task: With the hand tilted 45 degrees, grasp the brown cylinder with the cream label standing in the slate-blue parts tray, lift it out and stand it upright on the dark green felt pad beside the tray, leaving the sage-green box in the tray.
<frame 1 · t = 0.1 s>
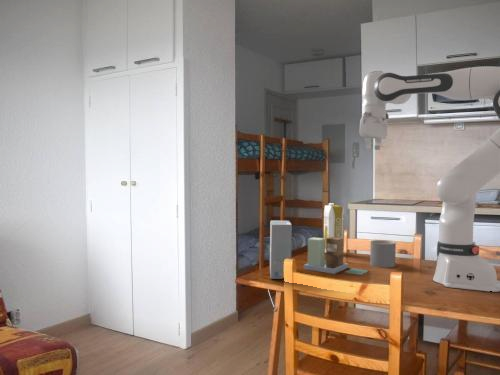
hand: (373, 149, 175), 48 cm above the table, tool pointing down, fingers open, 8 cm apart
coffee mug: (385, 265, 186), on the table
felt pad: (356, 272, 172), on the table
hard drive box: (279, 275, 169), on the table
parts tray: (326, 269, 177), on the table
juice carton: (333, 254, 210), on the table
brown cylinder: (334, 268, 178), resting on parts tray
sage box: (316, 268, 176), resting on parts tray
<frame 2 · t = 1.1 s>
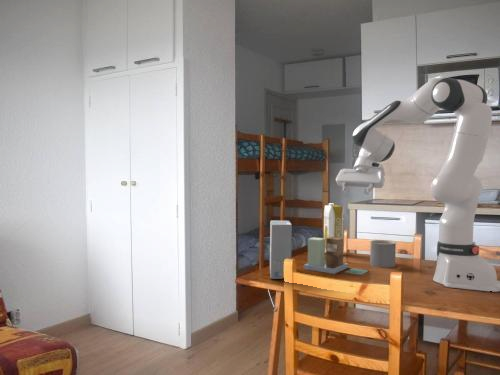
hand: (354, 192, 185), 30 cm above the table, tool tilted 45°, fingers open, 8 cm apart
nothing on the table moved.
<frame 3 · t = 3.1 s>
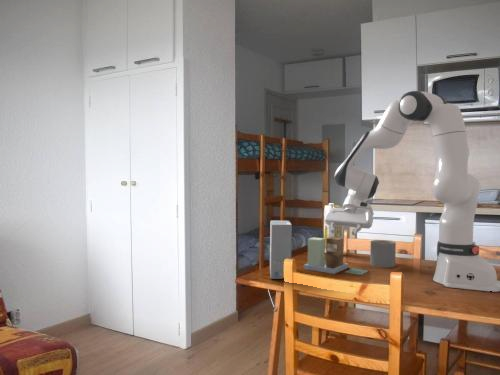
hand: (343, 233, 184), 14 cm above the table, tool tilted 45°, fingers open, 8 cm apart
nothing on the table moved.
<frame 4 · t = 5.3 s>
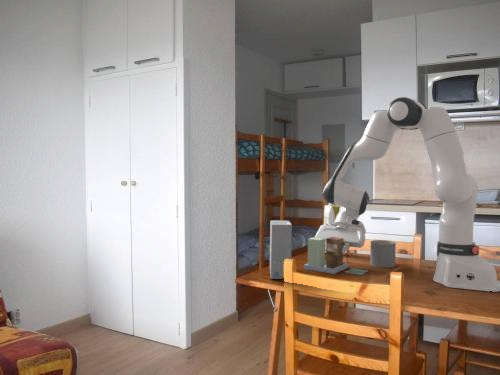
hand: (334, 252, 177), 7 cm above the table, tool tilted 45°, fingers closed on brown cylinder, 5 cm apart
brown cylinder: (334, 268, 178), resting on parts tray, touching gripper
everything else where it was.
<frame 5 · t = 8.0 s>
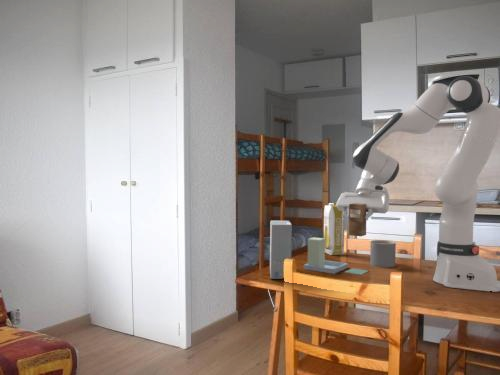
hand: (357, 218, 170), 21 cm above the table, tool tilted 45°, fingers closed on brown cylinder, 5 cm apart
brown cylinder: (357, 235, 171), point 15 cm above the table, touching gripper
everything else where it was.
when the fingers open (9 cm above the table, at t = 10.7 s): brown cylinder drops 2 cm, resting on felt pad.
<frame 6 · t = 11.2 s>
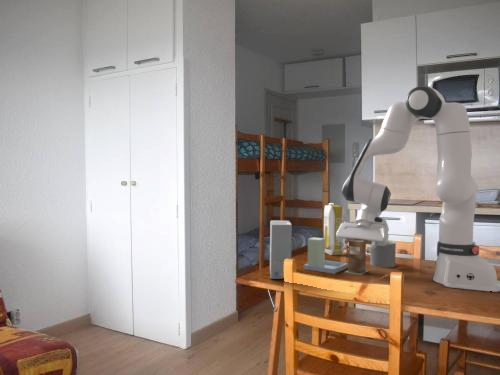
hand: (356, 250, 171), 9 cm above the table, tool tilted 45°, fingers open, 8 cm apart
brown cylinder: (356, 271, 172), point 1 cm above the table, touching felt pad
everything else where it was.
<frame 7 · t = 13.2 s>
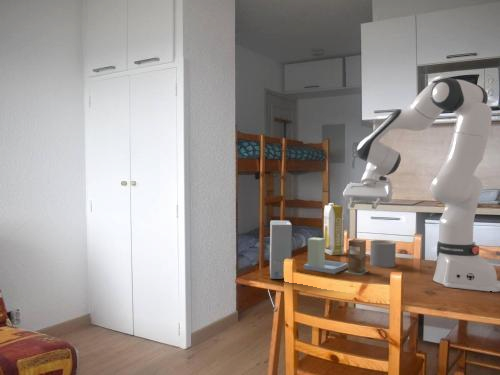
hand: (362, 207, 183), 24 cm above the table, tool tilted 45°, fingers open, 8 cm apart
nothing on the table moved.
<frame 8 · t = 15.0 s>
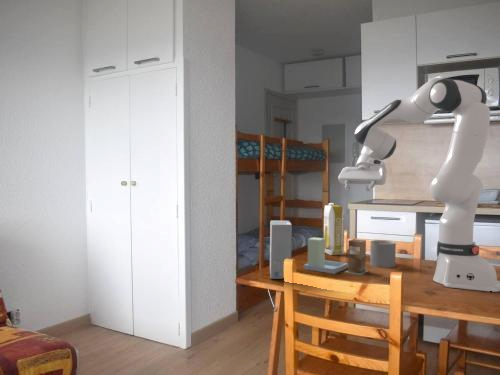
hand: (357, 189, 187), 31 cm above the table, tool tilted 45°, fingers open, 8 cm apart
nothing on the table moved.
at the end: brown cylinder inside the target area (0.1 cm from its centre), point 0.6 cm above the table; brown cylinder tilted 0°; the gripper is holding nothing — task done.
